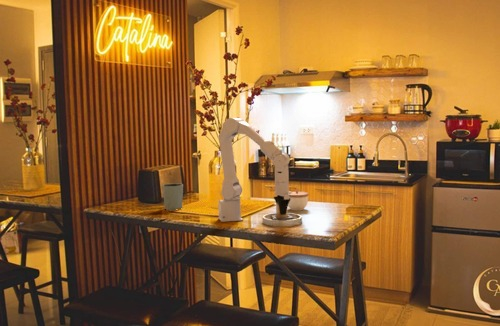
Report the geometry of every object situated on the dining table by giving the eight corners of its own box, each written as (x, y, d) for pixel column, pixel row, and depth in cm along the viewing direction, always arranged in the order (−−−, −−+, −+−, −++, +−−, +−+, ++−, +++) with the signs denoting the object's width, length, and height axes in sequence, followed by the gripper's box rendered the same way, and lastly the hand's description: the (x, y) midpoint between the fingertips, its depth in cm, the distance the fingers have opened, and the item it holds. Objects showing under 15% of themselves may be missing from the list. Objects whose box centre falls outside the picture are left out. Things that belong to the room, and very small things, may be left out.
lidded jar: (282, 208, 246) (281, 189, 245) (302, 206, 250) (301, 187, 249) (291, 212, 236) (291, 192, 235) (312, 210, 240) (312, 190, 239)
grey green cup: (185, 207, 255) (185, 183, 254) (181, 210, 245) (180, 186, 244) (165, 207, 256) (165, 183, 255) (160, 210, 246) (159, 186, 245)
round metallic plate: (268, 227, 205) (268, 221, 205) (259, 219, 221) (259, 214, 221) (306, 225, 209) (306, 219, 208) (294, 217, 224) (294, 211, 224)
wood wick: (278, 222, 213) (277, 203, 212) (276, 220, 215) (276, 202, 215) (287, 221, 214) (286, 202, 213) (285, 220, 216) (285, 201, 215)
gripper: (296, 183, 207) (296, 216, 208) (285, 179, 221) (286, 210, 222) (279, 184, 205) (279, 217, 207) (270, 179, 219) (270, 211, 221)
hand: (282, 213), depth 214 cm, fingers closed on wood wick, 2 cm apart
